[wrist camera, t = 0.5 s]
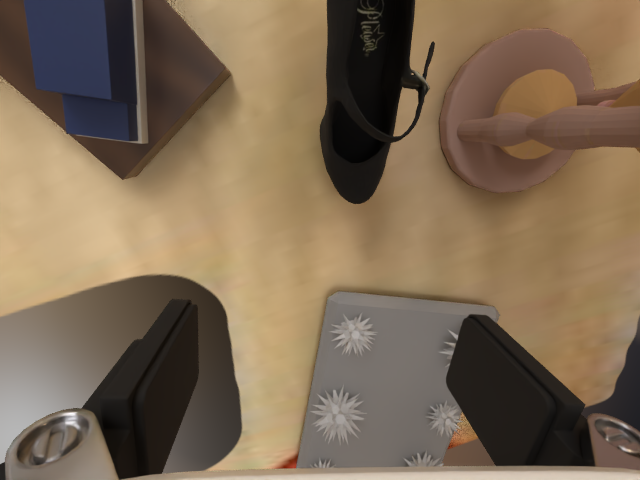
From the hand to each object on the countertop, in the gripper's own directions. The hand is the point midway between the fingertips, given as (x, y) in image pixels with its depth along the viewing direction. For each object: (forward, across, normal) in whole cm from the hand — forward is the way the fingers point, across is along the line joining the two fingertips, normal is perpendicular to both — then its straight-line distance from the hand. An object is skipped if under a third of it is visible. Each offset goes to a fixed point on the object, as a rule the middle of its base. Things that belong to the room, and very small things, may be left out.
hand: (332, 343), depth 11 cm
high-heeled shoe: (+29, -4, -10) cm, 31 cm away
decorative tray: (+29, -17, +30) cm, 45 cm away
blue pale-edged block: (+26, +19, -11) cm, 34 cm away
